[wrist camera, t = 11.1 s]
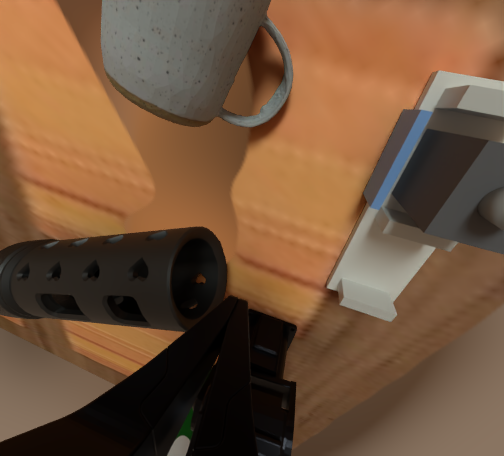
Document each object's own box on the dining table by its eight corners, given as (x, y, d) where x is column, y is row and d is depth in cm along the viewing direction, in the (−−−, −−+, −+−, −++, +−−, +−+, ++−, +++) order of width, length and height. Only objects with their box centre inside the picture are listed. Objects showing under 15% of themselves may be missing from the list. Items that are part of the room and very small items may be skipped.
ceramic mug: (150, 78, 18) (54, 63, 11) (180, -64, 13) (50, -226, 7) (259, 150, 18) (228, 176, 12) (323, 37, 14) (329, -23, 7)
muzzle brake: (238, 277, 26) (196, 363, 17) (82, 277, 35) (4, 333, 27) (214, 203, 22) (143, 266, 13) (46, 226, 31) (-60, 272, 23)
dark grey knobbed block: (449, 208, 15) (532, 272, 9) (391, 193, 16) (434, 245, 10) (497, 142, 13) (648, 171, 7) (427, 128, 14) (511, 144, 8)
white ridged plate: (386, 301, 22) (396, 330, 19) (320, 280, 22) (320, 304, 20) (546, 92, 12) (613, 87, 9) (422, 70, 13) (449, 60, 10)
